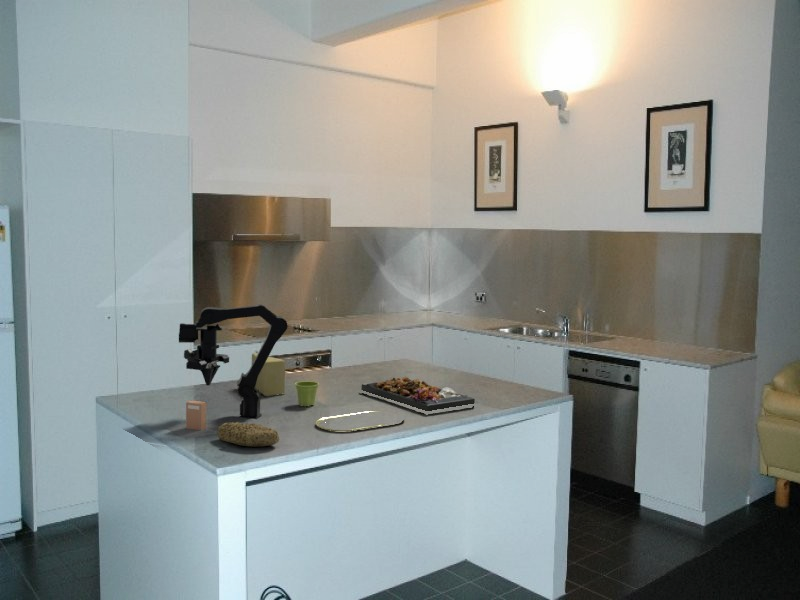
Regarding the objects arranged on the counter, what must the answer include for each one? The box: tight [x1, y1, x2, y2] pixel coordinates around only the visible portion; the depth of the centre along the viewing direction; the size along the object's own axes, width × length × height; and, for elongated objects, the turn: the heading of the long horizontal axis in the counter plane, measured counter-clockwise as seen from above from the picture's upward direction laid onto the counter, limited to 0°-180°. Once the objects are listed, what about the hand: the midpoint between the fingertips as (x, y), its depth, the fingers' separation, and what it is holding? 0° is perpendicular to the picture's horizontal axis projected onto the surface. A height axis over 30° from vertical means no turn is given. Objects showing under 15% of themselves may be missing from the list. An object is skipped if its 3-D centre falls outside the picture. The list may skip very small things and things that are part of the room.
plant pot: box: [294, 380, 320, 407], centre depth 293 cm, size 9×9×9 cm
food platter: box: [360, 376, 476, 411], centre depth 308 cm, size 45×25×10 cm, turn 37°
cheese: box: [251, 353, 286, 397], centre depth 316 cm, size 22×10×15 cm, turn 36°
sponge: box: [216, 421, 280, 448], centre depth 237 cm, size 13×8×20 cm
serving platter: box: [315, 410, 392, 431], centre depth 268 cm, size 19×35×2 cm, turn 126°
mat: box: [165, 424, 218, 440], centre depth 249 cm, size 16×12×1 cm
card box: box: [185, 400, 207, 430], centre depth 252 cm, size 3×6×9 cm, turn 70°
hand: (208, 385), depth 267 cm, fingers closed
